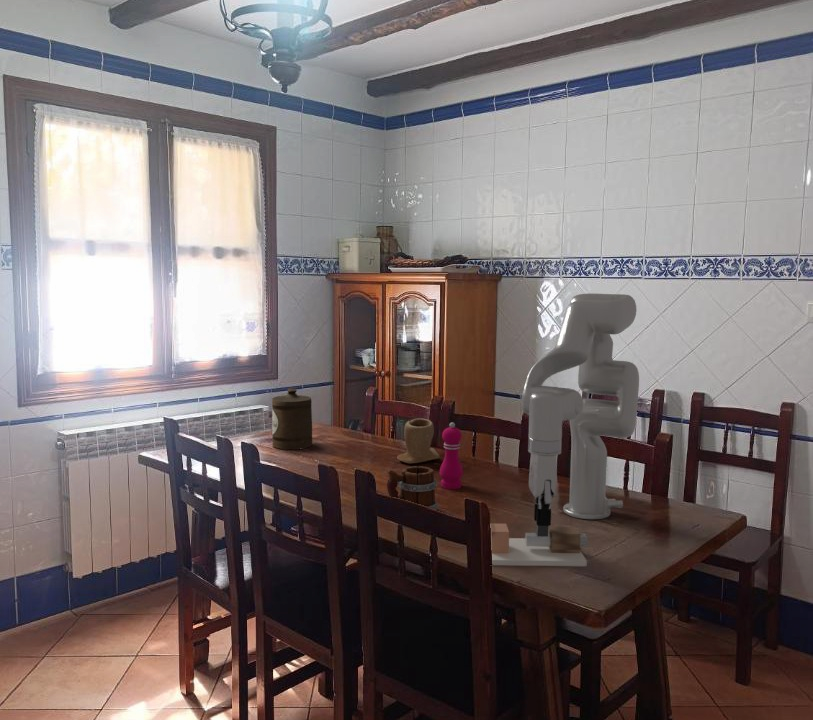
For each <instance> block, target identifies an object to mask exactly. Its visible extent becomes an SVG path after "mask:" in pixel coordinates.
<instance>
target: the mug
mask: <svg viewBox="0 0 813 720" xmlns="http://www.w3.org/2000/svg"><path fill="white" fill-rule="evenodd" d="M434 472H435V471H434V469H432V468H430V467H429V466H417V465H415V466H414V465H413V466H406V467H404V468H403V469H402V470H401V473H400V474H398V473H397V472H396V471H394V470H392V469H388V470H387V471H386V473H387V474H388V475H389V476H388V477H389V479H387V484H386V486H387V487H386V488H387V492H388V495H389V497H390V496H391V497H396V498H400V499H404V500H408V501H411V502H414V503H417V504H421V505H424V506H427V507H430V508H433V509H436V511H437V510H439V501H437V500H436V493H435V490H436V489H437V486H438V484H437V479H435V473H434ZM397 487H399V488H400V493H399V491H398V490H397Z"/></svg>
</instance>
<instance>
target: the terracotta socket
mask: <svg viewBox="0 0 813 720" xmlns="http://www.w3.org/2000/svg"><path fill="white" fill-rule="evenodd" d="M489 523H490V522H489ZM490 528H491V550H492V553H509V538H510V531H509V528H508V525H507V523H490Z"/></svg>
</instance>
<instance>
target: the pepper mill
mask: <svg viewBox="0 0 813 720" xmlns="http://www.w3.org/2000/svg"><path fill="white" fill-rule="evenodd" d="M441 434H442V435H441V437H442V440H443V441H444V443H443V448H444V451H445V453H444V458H443V461H442V463H441V465H440V468H439V476H440V477H441V480H440V486H441V487H440V488H444V489H447V490H458V489H460V488H461V487H462V480H461V479H462V478H463V475H464V468H463V465H462V463H461V461H460V458H459V449H460V448H461V443H460V442H461V441H462V438H463V434H462V431H461V430H460V429H459V428H457V427H456V424H455V422H450V423H449V425H448V427H447V428H445V429H443V432H442V433H441Z"/></svg>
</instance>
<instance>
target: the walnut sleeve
mask: <svg viewBox="0 0 813 720" xmlns="http://www.w3.org/2000/svg"><path fill="white" fill-rule="evenodd" d="M548 533H550V534H551V536H552V537H551V547H549V549H550V551H551V553H580V551H581V547H580V536H581V534H580V533H581V532H580V531H579V529H578V528H577V527H576V526H575V527H574V526H548Z"/></svg>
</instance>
